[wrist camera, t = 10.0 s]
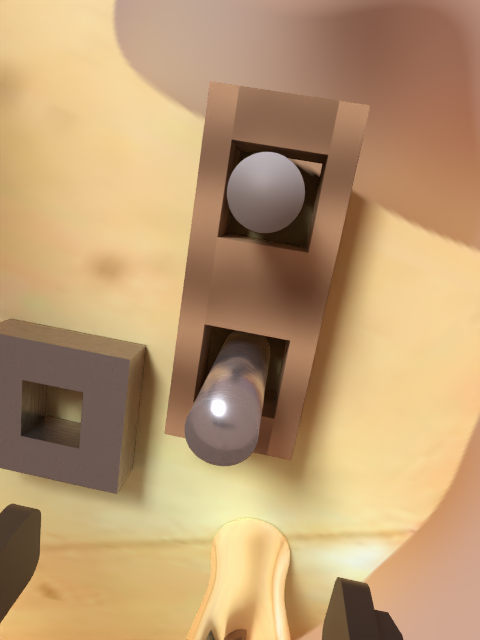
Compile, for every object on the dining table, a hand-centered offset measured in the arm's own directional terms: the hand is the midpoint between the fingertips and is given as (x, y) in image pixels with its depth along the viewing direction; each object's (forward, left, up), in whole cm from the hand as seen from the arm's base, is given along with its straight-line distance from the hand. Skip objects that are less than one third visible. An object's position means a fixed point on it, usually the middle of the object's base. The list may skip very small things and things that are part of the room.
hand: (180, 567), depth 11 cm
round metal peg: (0, 0, -18) cm, 18 cm away
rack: (-5, 0, -18) cm, 19 cm away
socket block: (+6, -12, -18) cm, 23 cm away
